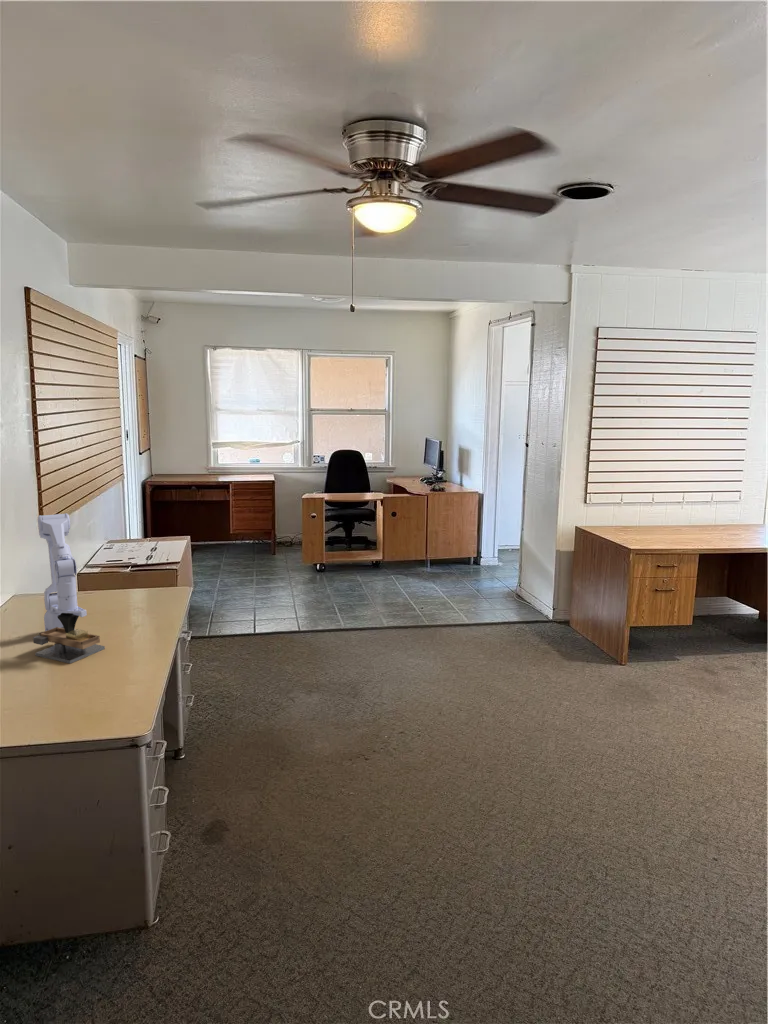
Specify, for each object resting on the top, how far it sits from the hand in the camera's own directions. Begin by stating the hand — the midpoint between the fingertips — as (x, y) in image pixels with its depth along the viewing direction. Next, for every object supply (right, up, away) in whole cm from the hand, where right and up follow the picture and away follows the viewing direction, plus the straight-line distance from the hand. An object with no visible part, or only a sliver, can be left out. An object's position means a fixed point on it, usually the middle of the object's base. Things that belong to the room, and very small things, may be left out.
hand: (70, 634), depth 218 cm
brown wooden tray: (0, -2, +1) cm, 2 cm away
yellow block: (+3, -1, -1) cm, 4 cm away
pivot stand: (0, -6, +1) cm, 6 cm away
